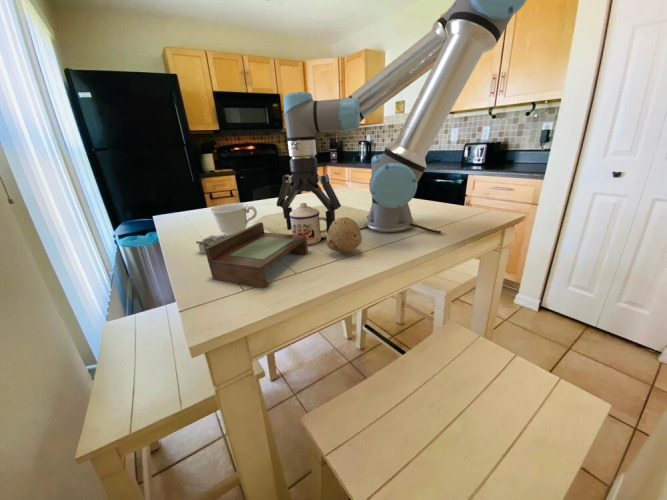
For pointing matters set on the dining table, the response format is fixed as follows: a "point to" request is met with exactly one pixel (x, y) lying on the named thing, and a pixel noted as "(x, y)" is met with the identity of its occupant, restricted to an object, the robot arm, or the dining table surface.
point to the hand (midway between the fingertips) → (309, 230)
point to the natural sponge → (343, 235)
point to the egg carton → (210, 242)
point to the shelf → (251, 254)
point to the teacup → (232, 217)
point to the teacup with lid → (307, 223)
